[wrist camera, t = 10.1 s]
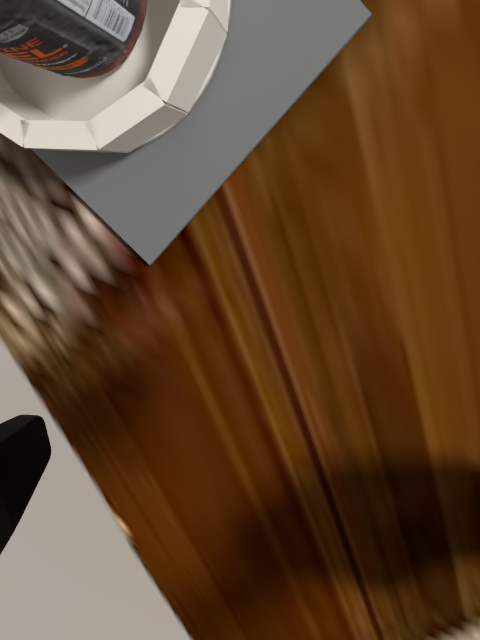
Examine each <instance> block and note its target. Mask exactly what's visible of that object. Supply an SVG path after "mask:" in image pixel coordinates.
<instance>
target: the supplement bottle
mask: <svg viewBox="0 0 480 640" xmlns="http://www.w3.org/2000/svg"><path fill="white" fill-rule="evenodd" d="M146 9H147V0H0V53H1V54H4V55H6V56H9V57H11V58H14V59H17V60H20V61H23V62H25V63H28V64H32V65H34V66H36V67H40V68H43V69H45V70H48V71H51V72H54V73H56V74H60V75H62V76H70V77H74V78H91V77H97V76H100V75H103V74H105V73H108V72H109V71H111V70H113V69H115V68H116V67H117V66H118V65H120V64H122V63H123V62H124V61H125V60H126V58H127V57H128V55H129V54H130V53H131V52H132V50H133V48H134V47H135V44H136V42H137V40H138V38H139V36H140V34H141V31H142V28H143V24H144V21H145V16H146Z"/></svg>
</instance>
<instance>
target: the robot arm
mask: <svg viewBox="0 0 480 640" xmlns="http://www.w3.org/2000/svg"><path fill="white" fill-rule="evenodd" d="M50 456H51V446H50V442H49V438H48V434H47V430H46V426H45V422H44V420H43V418H42V417H40V416H37V415H19V416H16V417H14V418H12V419H10V420H8V421H6V422H3V423H1V424H0V554H1V553H2V551H3V549H4V548H5V546H6V544H7V542H8V541H9V539H10V537H11V536H12V534H13V532H14V530H15V528H16V526H17V525H18V523H19V521H20V519H21V517H22V515H23V513H24V511H25V509H26V506H27V505H28V502H29V501H30V499H31V496H32V494H33V492H34V490H35V488H36V486H37V484H38V482H39V480H40V478H41V476H42V474H43V472H44V470H45V468H46V466H47V464H48V462H49V459H50Z"/></svg>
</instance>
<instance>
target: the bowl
mask: <svg viewBox="0 0 480 640" xmlns="http://www.w3.org/2000/svg"><path fill="white" fill-rule="evenodd" d="M232 1H233V0H147V9H146V16H145V21H144V24H143V28H142V31H141V34H140V36H139V38H138V40H137V42H136V44H135V47H134V48H133V50H132V52H131V53H130V54H129V55H128V57H127V58H126V60H125V61H124V62H123V63H122V64H120V65H118V66H117V67H116V68H115V69H113V70H111V71H109V72H108V73H105V74H103V75H100V76H97V77H91V78H74V77H70V76H62V75H60V74H56V73H54V72H51V71H48V70H45V69H43V68H40V67H36V66H34V65H32V64H28V63H25V62H23V61H20V60H17V59H14V58H11V57H9V56H6V55H4V54H1V53H0V133H2V134H3V135H5V136H6V137H8V138H9V139H11V140H12V141H14V142H15V143H17V144H18V145H20V146H21V147H24V148H33V149H47V150H60V151H85V152H104V153H106V152H115V153H128V152H131V151H133V150H134V149H136V148H139V147H141V146H144V145H147V144H150V143H152V142H153V141H155V140H157V139H159V138H161V137H162V136H164V135H166V134H167V133H168V132H170V131H171V130H172V129H174V128H175V127H176V126H178V125H179V124H180V123H181V122H182V121H183V120H184V119H185V118H186V117H187V116H188V115H189V114H190V113H191V111H192V110H193V109H194V107H195V106H196V105H197V103H198V102H199V101H200V100H201V98H202V97H203V95H204V93H205V92H206V90H207V88H208V86H209V85H210V83H211V81H212V79H213V77H214V75H215V72H216V70H217V68H218V65H219V63H220V61H221V58H222V54H223V51H224V48H225V44H226V41H227V37H228V32H229V26H230V21H231V14H232Z"/></svg>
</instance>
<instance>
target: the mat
mask: <svg viewBox="0 0 480 640" xmlns="http://www.w3.org/2000/svg"><path fill="white" fill-rule="evenodd" d="M370 17H371V13H370V11H369V10H368V9H367V8H366V7H365V6H364V4H363V3H362V2H361V1H360V0H233V1H232V14H231V21H230V26H229V32H228V37H227V41H226V44H225V48H224V51H223V54H222V58H221V61H220V63H219V65H218V68H217V70H216V72H215V75H214V77H213V79H212V81H211V83H210V85H209V86H208V88H207V90H206V92H205V93H204V95H203V97H202V98H201V100H200V101H199V102H198V103H197V105H196V106H195V107H194V109H193V110H192V111H191V113H190V114H189V115H188V116H187V117H186V118H185V119H184V120H183V121H182V122H181V123H180V124H179V125H178V126H176V127H175V128H174V129H172V130H171V131H170V132H168V133H167V134H166V135H164V136H162V137H161V138H159V139H157V140H155V141H153V142H152V143H150V144H147V145H144V146H141V147H139V148H136V149H134V150H133V151H131V152H128V153H115V152H106V153H104V152H85V151H60V150H47V149H33V148H30V149H31V150H32V151H33V152H34V153H35V154H36V155H37V156H38V157H39V158H40V159H41V160H42V161H43V162H44V163H46V164H47V165H48V166H49V167H50V168H51V169H52V170H53V171H54V172H55V173H56V174H57V175H58V176H59V177H60V178H61V179H62V180H63V181H64V182H65V183H66V184H67V185H68V186H69V187H70V188H71V189H72V190H73V191H74V192H75V193H76V194H77V195H78V196H79V197H80V198H81V199H82V200H83V201H84V202H85V203H86V204H87V205H89V206H90V207H91V208H92V209H93V210H94V211H95V212H96V213H97V214H98V215H99V216H100V217H101V218H102V219H103V220H104V221H105V222H106V223H107V224H108V225H109V226H110V227H111V228H112V229H113V230H114V231H115V232H116V233H117V234H118V235H119V236H120V237H121V238H122V239H123V240H124V241H125V242H126V243H127V244H128V245H129V246H130V247H131V248H133V249H134V250H135V251H136V252H137V253H138V254H139V255H140V256H141V257H142V258H143V259H144V260H145V261H146V262H147V263H148V264H149V265H151V264H153V263H154V261H155V260H156V259H157V258H158V257H159V256H160V255H161V254H162V252H163V251H164V250H165V249H166V248H167V247H168V246H169V244H170V243H171V242H172V241H173V240H174V239H175V238H176V237H177V235H178V234H179V233H180V232H181V231H182V230H183V229H184V228H185V226H186V225H187V224H188V223H189V222H190V221H191V220H192V218H193V217H194V216H195V215H196V214H197V213H198V212H199V211H200V209H201V208H202V207H203V206H204V205H205V204H206V203H207V202H208V200H209V199H210V198H211V197H212V196H213V195H214V194H215V192H216V191H217V190H218V189H219V188H220V187H221V186H222V185H223V183H224V182H225V181H226V180H227V179H228V178H229V177H230V176H231V174H232V173H233V172H234V171H235V170H236V169H237V168H238V166H239V165H240V164H241V163H242V162H243V161H244V160H245V159H246V157H247V156H248V155H249V154H250V153H251V152H252V151H253V150H254V148H255V147H256V146H257V145H258V144H259V143H260V142H261V140H262V139H263V138H264V137H265V136H266V135H267V134H268V133H269V131H270V130H271V129H272V128H273V127H274V126H275V125H276V124H277V122H278V121H279V120H280V119H281V118H282V117H283V116H284V114H285V113H286V112H287V111H288V110H289V109H290V108H291V107H292V105H293V104H294V103H295V102H296V101H297V100H298V99H299V98H300V96H301V95H302V94H303V93H304V92H305V91H306V90H307V88H308V87H309V86H310V85H311V84H312V83H313V82H314V81H315V79H316V78H317V77H318V76H319V75H320V74H321V73H322V72H323V70H324V69H325V68H326V67H327V66H328V65H329V64H330V62H331V61H332V60H333V59H334V58H335V57H336V56H337V55H338V53H339V52H340V51H341V50H342V49H343V48H344V47H345V46H346V44H347V43H348V42H349V41H350V40H351V39H352V38H353V36H354V35H355V34H356V33H357V32H358V31H359V30H360V29H361V27H362V26H363V25H364V24H365V23H366V22H367V21H368V20H369V18H370Z"/></svg>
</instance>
